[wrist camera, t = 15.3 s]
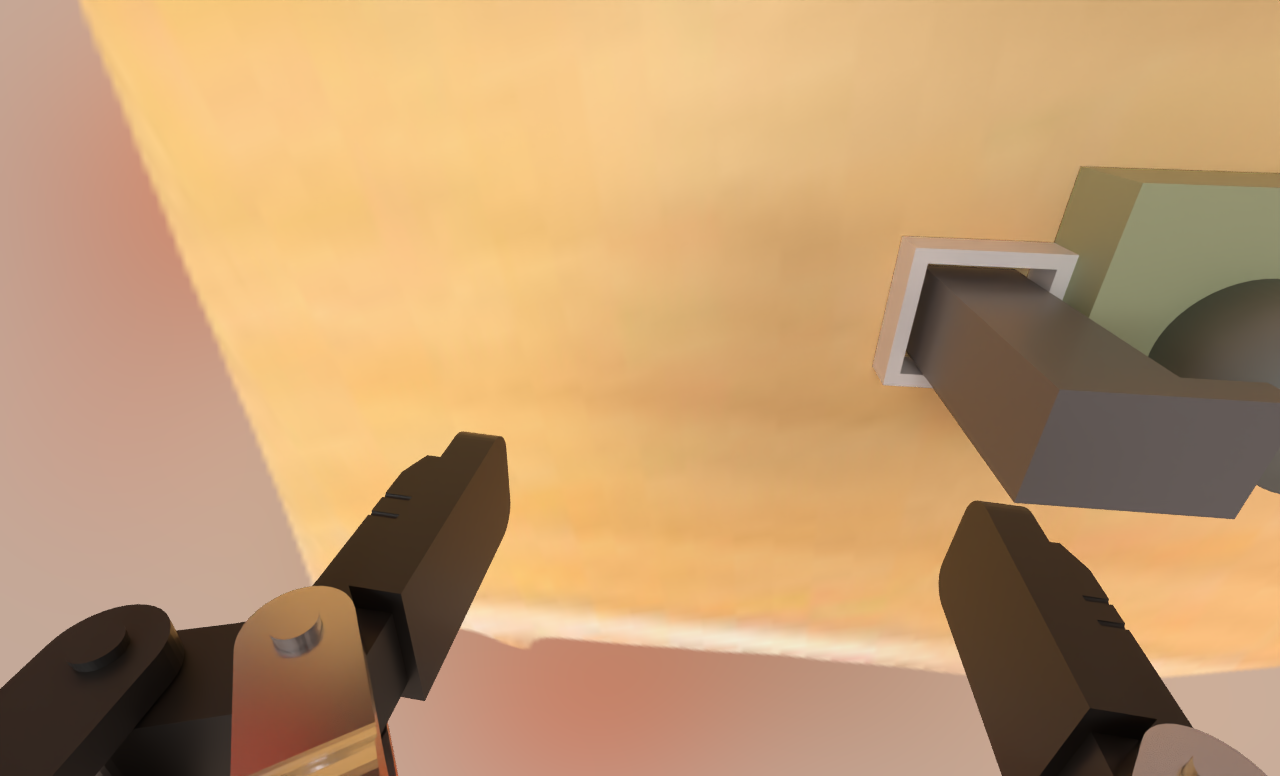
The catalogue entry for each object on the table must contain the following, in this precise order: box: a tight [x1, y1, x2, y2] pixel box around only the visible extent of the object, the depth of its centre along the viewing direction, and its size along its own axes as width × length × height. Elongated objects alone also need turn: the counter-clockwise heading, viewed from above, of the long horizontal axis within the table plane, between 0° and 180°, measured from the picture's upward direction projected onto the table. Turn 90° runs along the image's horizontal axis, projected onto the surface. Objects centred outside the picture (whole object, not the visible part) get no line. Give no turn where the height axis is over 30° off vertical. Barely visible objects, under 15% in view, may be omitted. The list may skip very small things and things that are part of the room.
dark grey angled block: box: [906, 265, 1280, 519], centre depth 28 cm, size 8×5×15 cm, turn 88°
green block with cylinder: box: [873, 167, 1280, 494], centre depth 30 cm, size 20×16×11 cm
